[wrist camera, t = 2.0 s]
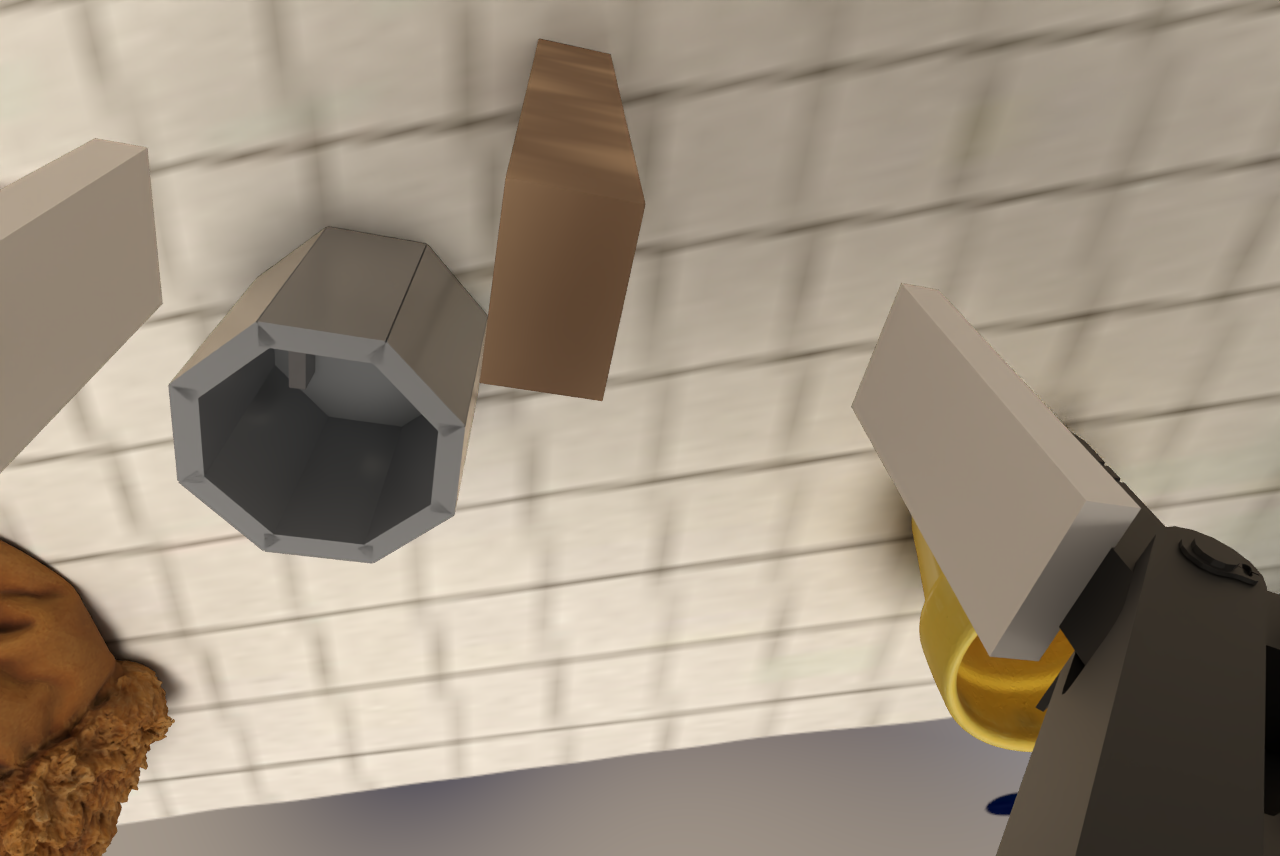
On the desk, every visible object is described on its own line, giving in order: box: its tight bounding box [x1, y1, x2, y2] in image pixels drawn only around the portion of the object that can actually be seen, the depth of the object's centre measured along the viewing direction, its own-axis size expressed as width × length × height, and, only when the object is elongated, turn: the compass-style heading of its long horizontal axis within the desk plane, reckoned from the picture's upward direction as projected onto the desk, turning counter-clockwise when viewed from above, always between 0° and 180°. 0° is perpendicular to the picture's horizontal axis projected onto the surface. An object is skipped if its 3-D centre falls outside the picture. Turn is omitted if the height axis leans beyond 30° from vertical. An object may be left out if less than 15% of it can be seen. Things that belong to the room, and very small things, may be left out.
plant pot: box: [912, 517, 1075, 752], centre depth 35 cm, size 10×10×10 cm
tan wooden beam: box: [480, 39, 645, 401], centre depth 22 cm, size 2×4×16 cm, turn 168°
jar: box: [168, 227, 488, 563], centre depth 29 cm, size 9×9×8 cm
